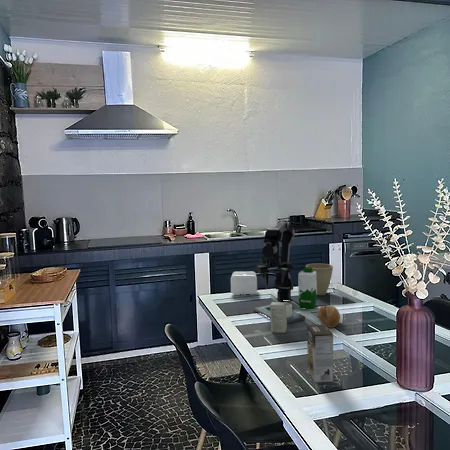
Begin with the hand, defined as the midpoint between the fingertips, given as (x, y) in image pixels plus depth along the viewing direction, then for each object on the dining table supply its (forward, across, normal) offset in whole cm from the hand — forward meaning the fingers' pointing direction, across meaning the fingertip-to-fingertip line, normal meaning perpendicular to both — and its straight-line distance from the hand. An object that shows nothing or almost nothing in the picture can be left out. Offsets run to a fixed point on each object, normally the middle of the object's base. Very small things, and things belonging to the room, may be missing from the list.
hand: (274, 284), depth 208 cm
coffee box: (+13, +24, +68) cm, 73 cm away
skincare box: (+13, +14, +26) cm, 32 cm away
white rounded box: (+13, -1, -36) cm, 38 cm away
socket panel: (+13, +3, +8) cm, 16 cm away
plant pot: (+13, -37, -13) cm, 41 cm away
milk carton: (+13, -16, +5) cm, 21 cm away
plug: (+13, +3, +14) cm, 19 cm away
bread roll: (+13, -10, +29) cm, 34 cm away
